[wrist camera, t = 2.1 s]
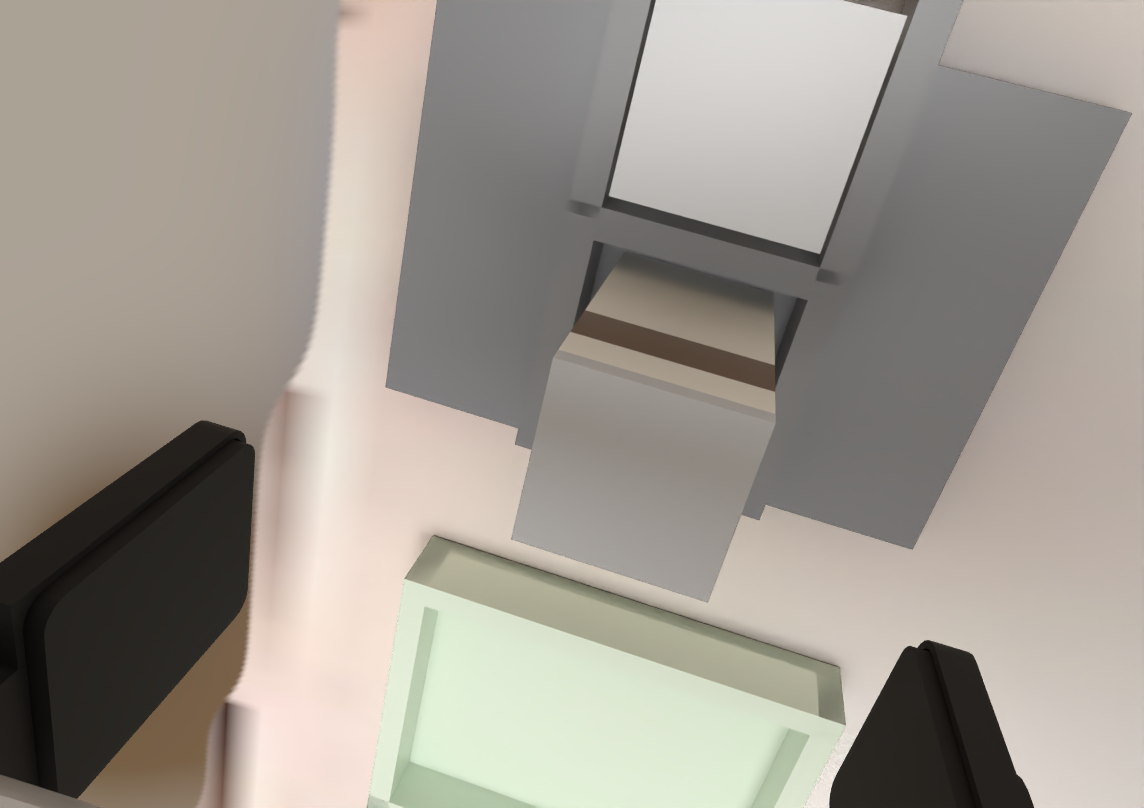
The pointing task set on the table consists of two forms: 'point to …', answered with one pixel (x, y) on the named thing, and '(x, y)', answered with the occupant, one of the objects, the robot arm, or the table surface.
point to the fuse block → (744, 217)
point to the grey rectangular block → (653, 426)
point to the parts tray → (587, 700)
